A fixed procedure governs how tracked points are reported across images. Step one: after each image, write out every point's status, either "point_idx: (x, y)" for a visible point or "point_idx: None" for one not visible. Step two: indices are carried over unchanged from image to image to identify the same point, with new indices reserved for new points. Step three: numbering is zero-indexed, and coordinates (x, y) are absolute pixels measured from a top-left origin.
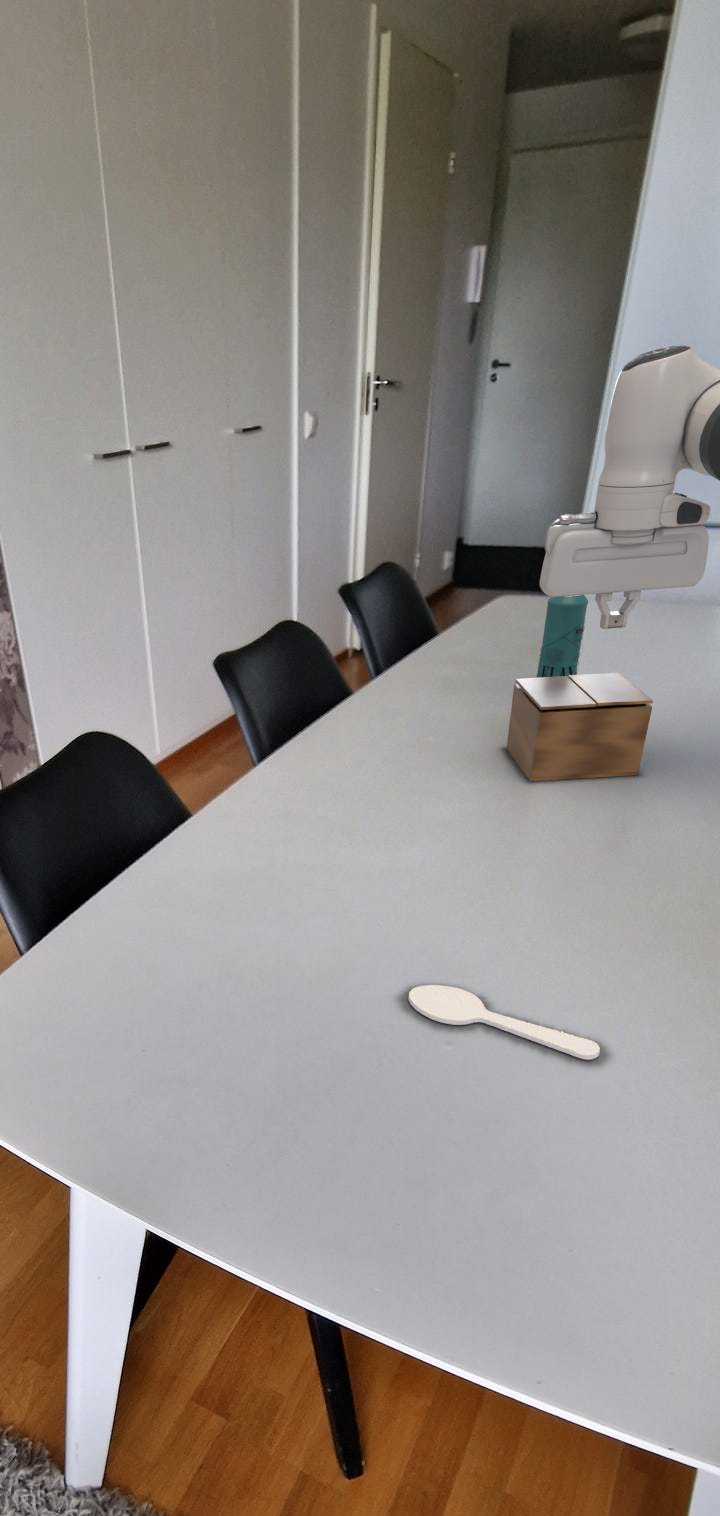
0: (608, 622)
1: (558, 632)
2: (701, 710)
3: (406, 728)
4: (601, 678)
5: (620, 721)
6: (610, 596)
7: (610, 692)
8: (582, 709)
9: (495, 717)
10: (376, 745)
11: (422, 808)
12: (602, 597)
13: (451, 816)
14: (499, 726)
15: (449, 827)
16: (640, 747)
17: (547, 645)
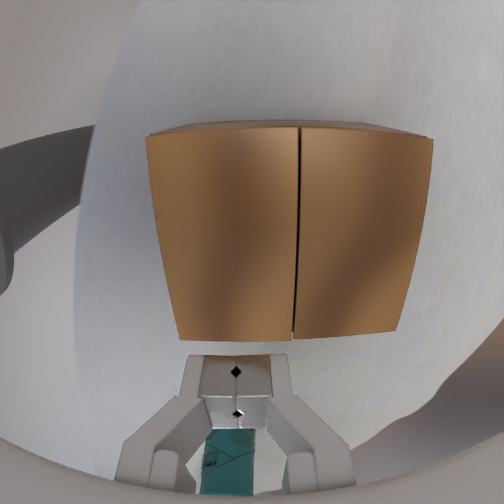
0: (273, 369)
1: (240, 464)
2: (76, 342)
3: (431, 334)
4: (225, 314)
5: (227, 125)
6: (297, 475)
7: (235, 211)
8: None
9: (322, 363)
10: (479, 288)
11: (500, 87)
12: (344, 467)
13: (479, 52)
14: (330, 338)
15: (482, 27)
16: (182, 126)
17: (251, 452)
